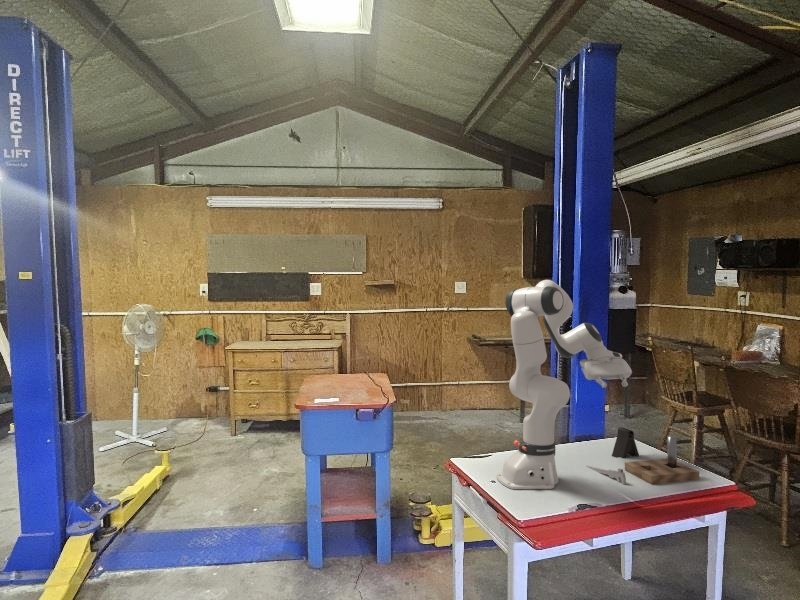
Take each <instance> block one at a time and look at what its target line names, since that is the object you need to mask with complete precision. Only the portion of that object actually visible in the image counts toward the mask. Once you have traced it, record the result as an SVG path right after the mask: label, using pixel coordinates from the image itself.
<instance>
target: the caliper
mask: <svg viewBox="0 0 800 600" xmlns="http://www.w3.org/2000/svg"><path fill="white" fill-rule="evenodd" d="M585 467H587V468H588V469H590V470H591V471H595V472H596V473H599V474H602V475H603V474H604V475H608V476H609V478H611V479H616V481H617V483H619V484H620V483H621V484H622V485H624V486H625V485H627V477H626V473H625V472H624V469H623V468H617V470H615V469H605V468H601V467H595V466H591V465H585Z"/></svg>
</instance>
